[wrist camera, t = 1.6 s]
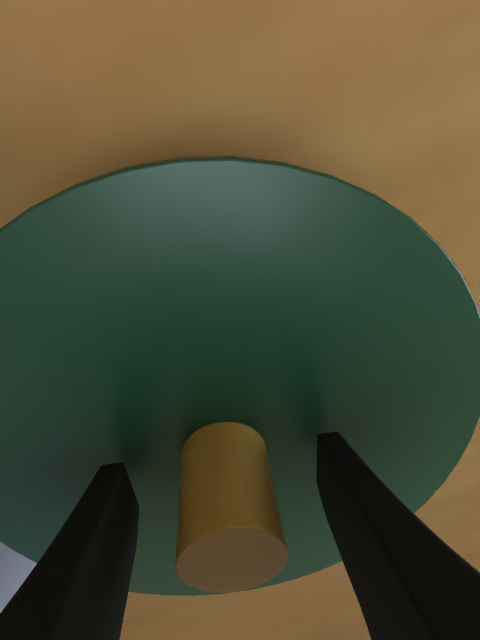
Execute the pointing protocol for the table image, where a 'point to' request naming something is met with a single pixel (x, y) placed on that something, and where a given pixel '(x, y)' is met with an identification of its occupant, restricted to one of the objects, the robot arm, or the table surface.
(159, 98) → the table surface
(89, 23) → the table surface
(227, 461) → the tin lid
